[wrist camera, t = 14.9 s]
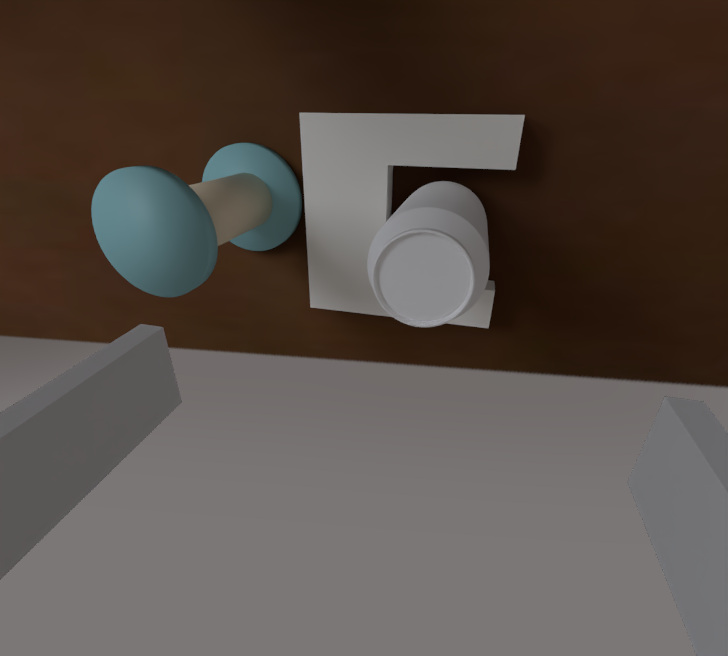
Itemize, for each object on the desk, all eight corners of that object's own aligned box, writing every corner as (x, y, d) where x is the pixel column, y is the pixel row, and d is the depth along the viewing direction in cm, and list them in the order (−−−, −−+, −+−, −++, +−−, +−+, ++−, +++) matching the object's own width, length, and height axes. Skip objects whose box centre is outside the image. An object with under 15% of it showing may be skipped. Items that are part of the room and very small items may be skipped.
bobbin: (201, 141, 31) (63, 154, 21) (298, 143, 30) (201, 159, 19) (217, 243, 35) (107, 297, 25) (305, 251, 33) (226, 312, 23)
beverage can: (504, 234, 29) (516, 300, 19) (430, 279, 32) (406, 358, 21) (455, 159, 28) (440, 185, 17) (383, 213, 30) (333, 263, 20)
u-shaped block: (310, 112, 28) (299, 112, 27) (521, 114, 25) (524, 115, 24) (318, 297, 35) (310, 307, 33) (488, 316, 32) (488, 328, 30)
